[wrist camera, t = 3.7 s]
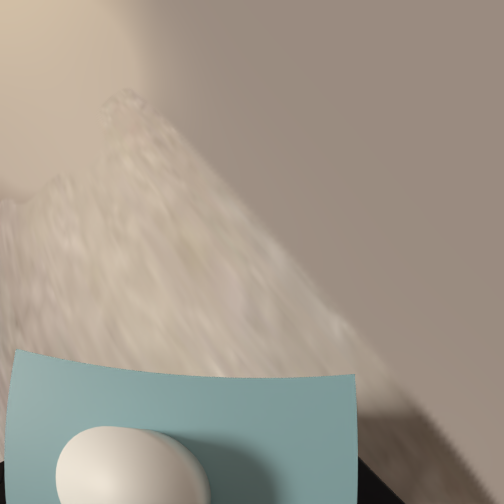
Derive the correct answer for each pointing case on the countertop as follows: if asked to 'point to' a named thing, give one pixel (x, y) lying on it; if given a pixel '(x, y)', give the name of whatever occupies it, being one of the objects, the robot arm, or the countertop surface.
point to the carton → (176, 437)
